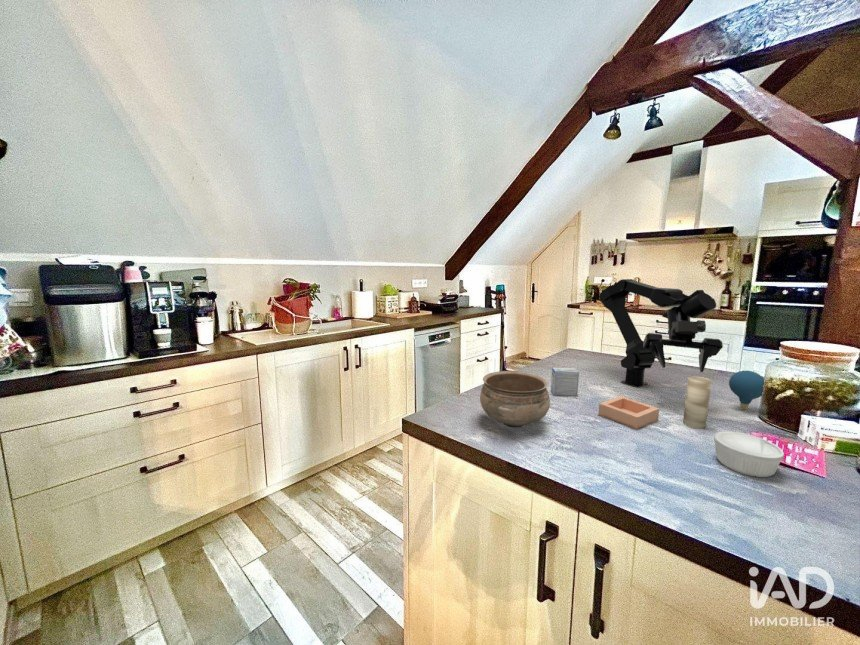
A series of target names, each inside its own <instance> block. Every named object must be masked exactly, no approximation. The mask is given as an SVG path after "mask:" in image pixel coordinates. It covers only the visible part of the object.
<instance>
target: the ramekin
mask: <svg viewBox="0 0 860 645" xmlns="http://www.w3.org/2000/svg"><path fill="white" fill-rule="evenodd" d="M713 441H714V448H715V455H716V458H717V459H718V461H719V463H721V464H722V465H724V466H725V467H727V468H728V469H730V470H732V471H735V472H737V473H740V474H742V475H746V476H751V477H755V476H756V477H755V478H757V477H758V478H769V477H771V476H773V475H774V474H775V473H776V472H777V470H778V467H779V466H780V464H781V462H782V461H783V459H784V456H785V453H784V451H783V449H782V448H781V447H779V446H778V445H776V444H774V443H773V442H770V441H768V440H767V439H764V438H761V437H758V436H755V435H751V434H748V433H742V432H737V431H719V432H716V433H715V434H714V435H713Z"/></svg>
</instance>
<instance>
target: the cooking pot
mask: <svg viewBox="0 0 860 645" xmlns="http://www.w3.org/2000/svg"><path fill="white" fill-rule="evenodd" d="M482 382H483V385H482V387H481V390H480V394H479V402H480V405H481V407H482V410H483V411H484V412H485V413H486V414H487V415H488V416H489V417H490V418H491V419H493V420H494V421H496V422H498V423H501V424H502V425H504V426H505V427H510V428H523V427H524V426H528V425H532V424H534V423H535V424H536V422H539V421H541V420H542V419H544V417H545V416H546V415H547V413H548V412H549V410H550V407H551V406H550V405H551V397H550V394H549V391H548V389H547V387H549V382H548V380H547V379H546V378H544V377H543V376H540V375H538V374H534V373H531V372H526V371H525V372H524V371H519V370H518V371H517V370H500V371H494V372H490V373H489V372H488V373H487V374H486V375H484V376H483V378H482Z"/></svg>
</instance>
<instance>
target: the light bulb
mask: <svg viewBox="0 0 860 645" xmlns="http://www.w3.org/2000/svg"><path fill="white" fill-rule="evenodd" d="M764 380H765V381H766V379H765V378H764V377H763V376H762V375H761V374H759V373H758V372H755V371H752V370H740V371H737V372H735V373H733V374H732V375H731V377H730V378H729V381H728V386H729V389H730V390H731V392H732V393H733V394H735V396H736V397H737V398H738V402H739V403H740V404H739V408H740V409H741V410H745V411H746V410H748V409H749V407H750V406H749V405H750V404H751V402H752V401H753V400H755V399H759V398H761V397H763V395H762V392H763V385H764Z"/></svg>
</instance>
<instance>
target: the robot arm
mask: <svg viewBox="0 0 860 645" xmlns="http://www.w3.org/2000/svg"><path fill="white" fill-rule="evenodd" d="M630 294H634V295H638V296H640V297H643V298H646V299H649V300H650V301H651V303H653V304H654V305H655V306H658V307H660V308H669V309H666V311H665V312H663V314H662V315H661V316H662V318H664V319H667V326H668V327H667V328H668V330H667V334H668V338H663V335H662V333H654V332H653V333H652V332H648V333H646V335H645V337H644V338H643V340H642V338H641V337H640V334H639V332H638V331H637V328H636V326H635V324H634V322H633V320H632V318H631V316H630V314H629V312H628V310H627V308H626V304H627V303H626V302H627V299H626V297H628V296H629V295H630ZM599 300H600V302H601V303H602V305H603V307H604V308H606V309H607V310H608V311H610V312H611V314H612V316H613V318H614V320H615V323H616V325H617V327H618V329H619V331H620V333H621V335H622V337H623V340H624V342H625V343H626V347H625V348H626V349H625V354H626V356H625V357H624V358H622V359H621V360H620V365H621V368H625V369H626V370H625V377H624V378H625V379H624V380H621V381H620V383H621V384H624V385H629V386H630V387H636V388H641V387H644V386H647V385H649V383H648V382H645V372H646V371H645V370H646V369H651V368H652V365H654V362H655V361H656V360H655V359H657V360H658V363H659V364H660V365H661V367H662V369H664V368H665V367H666V359H665V358H666V357H665V353H664V346H668V347H669V346H670V347H676V348H686V349H695V350H696V349H697V350H698V353H699V354H698V366H699V371H700V373H703V372H704V370H705V367H706V364H707V362H708V359H709V358H713V357H714V356H717V355H718V354H719V352H720V351H721V350H722V349H723V347H724V346H723V341H722V340H721V339H720V338H712V337H711V338H710V337H704V338H703V340H702V341H693V340H694V339H695V338H697V337H696V334H698V333H704V332H706V329H707V324H706V321H705V320H702V319H701V320H699V319H698V318H700V317H701V316H703V315H705V314H707V313H709V312H711V311H713V310H715V309H716V308H717V303H716V300H715V298H713V297H712V296H711V295H710V294H708V293H706V292H705V291H704V290H703V289H697V290H695V291H694V292H693V293H691V294H690V295H687V294H684V293H683V290H682V289H679V288H672V287H671V288H668V287H658V286H657V287H656V286H653V285H650V284H647V283H643V282H640V281H636V280H634V279H632V278H631V279H629V278H624V279H623V278H622V279H619V280H618V281H617V282H616V283H614V284H611V285H610V286H608V287H606V288H604V289H603V290H601V292H600V293H599ZM691 318H692V319H697V321H693V320H692V321H691Z"/></svg>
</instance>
